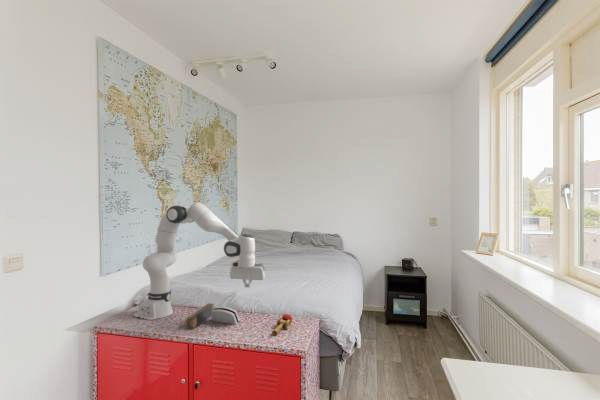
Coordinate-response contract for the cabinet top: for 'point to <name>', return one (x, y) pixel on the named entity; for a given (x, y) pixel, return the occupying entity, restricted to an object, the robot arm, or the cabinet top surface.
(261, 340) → the cabinet top surface
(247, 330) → the cabinet top surface
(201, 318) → the mounting plate
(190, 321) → the frame block
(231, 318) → the grey rounded case
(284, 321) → the kendama
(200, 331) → the cabinet top surface
